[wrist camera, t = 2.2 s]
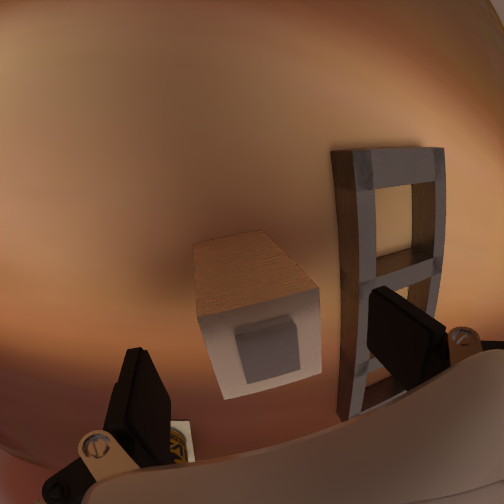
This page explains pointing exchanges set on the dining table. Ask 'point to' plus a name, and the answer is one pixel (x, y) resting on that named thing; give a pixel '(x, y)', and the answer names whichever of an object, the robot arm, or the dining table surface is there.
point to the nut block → (256, 314)
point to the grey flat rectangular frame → (386, 267)
